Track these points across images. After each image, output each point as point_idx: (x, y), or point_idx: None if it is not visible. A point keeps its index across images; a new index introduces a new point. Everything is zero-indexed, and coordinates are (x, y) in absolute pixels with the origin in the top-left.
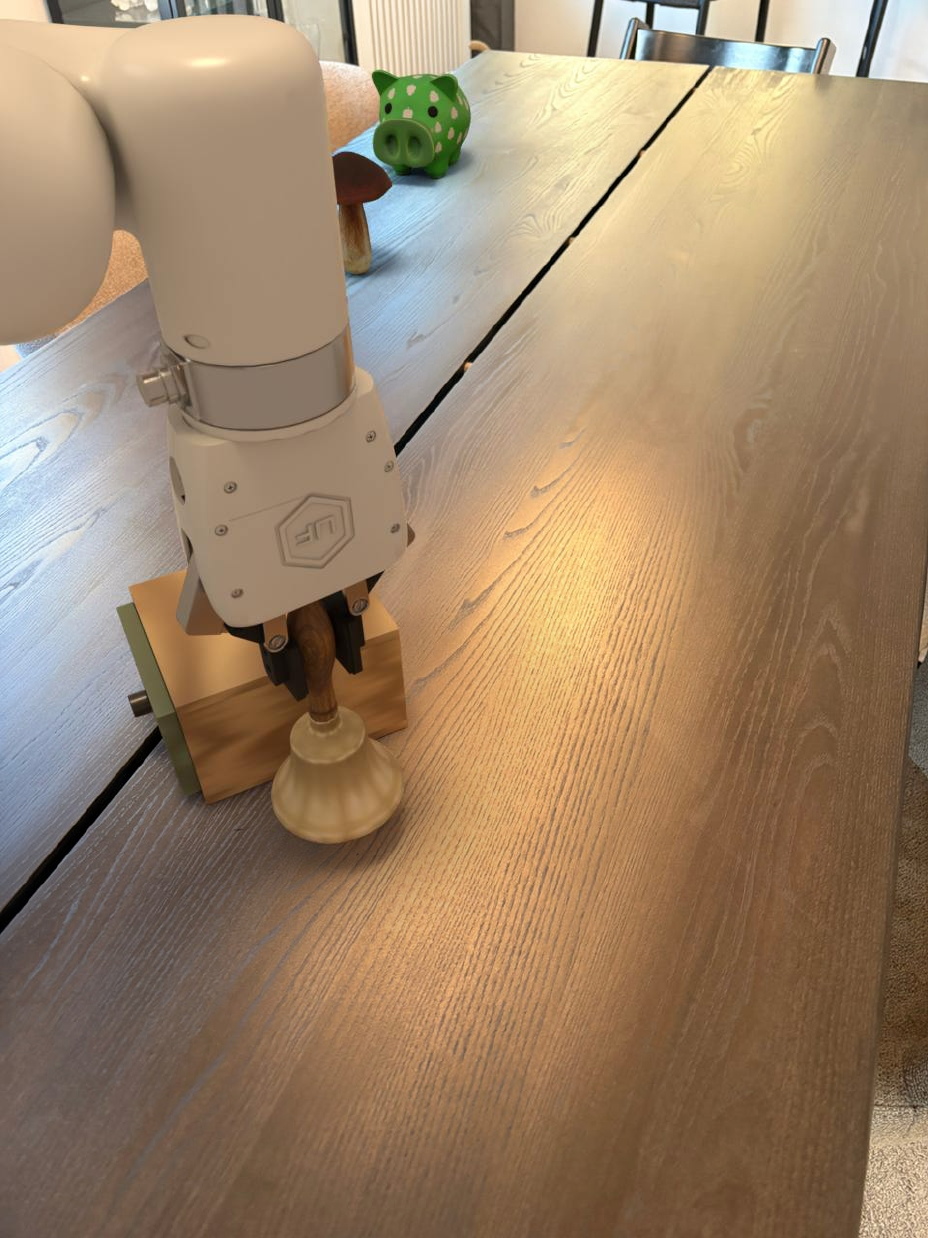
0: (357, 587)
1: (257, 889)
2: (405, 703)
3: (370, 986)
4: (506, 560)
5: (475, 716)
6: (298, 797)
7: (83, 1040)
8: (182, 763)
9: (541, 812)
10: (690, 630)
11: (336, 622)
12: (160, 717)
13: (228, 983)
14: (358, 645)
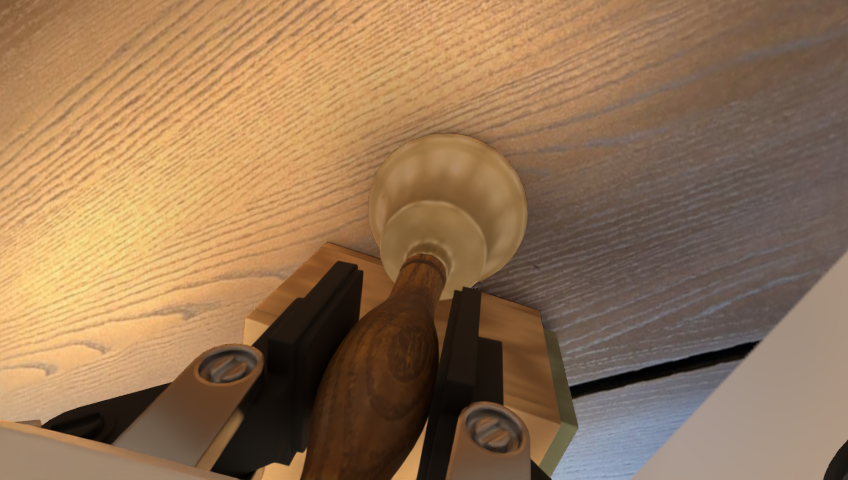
0: (176, 419)
1: (571, 197)
2: (312, 256)
3: (570, 8)
4: (122, 327)
5: (263, 201)
6: (503, 223)
7: (818, 181)
8: (553, 360)
9: (283, 49)
10: (5, 119)
11: (312, 371)
12: (573, 425)
13: (672, 127)
14: (311, 294)
